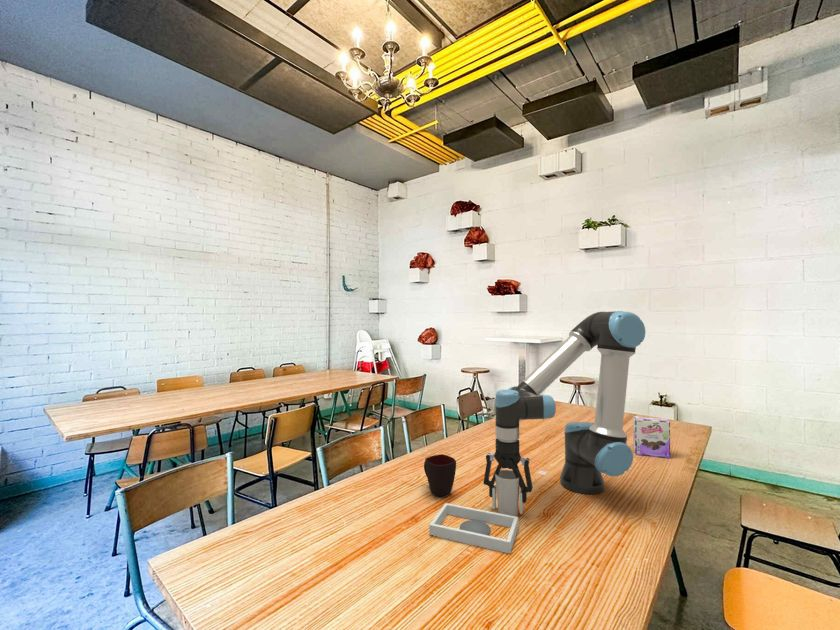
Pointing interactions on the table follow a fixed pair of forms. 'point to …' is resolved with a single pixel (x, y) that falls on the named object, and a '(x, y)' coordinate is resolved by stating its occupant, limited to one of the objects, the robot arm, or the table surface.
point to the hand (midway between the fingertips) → (507, 509)
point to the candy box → (651, 437)
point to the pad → (476, 527)
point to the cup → (507, 492)
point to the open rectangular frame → (473, 537)
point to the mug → (440, 474)
